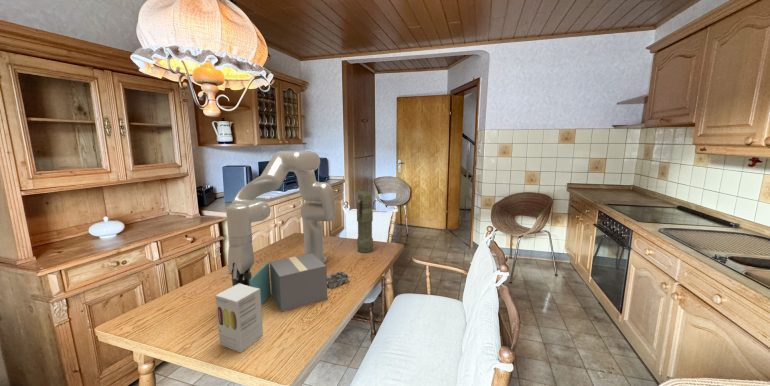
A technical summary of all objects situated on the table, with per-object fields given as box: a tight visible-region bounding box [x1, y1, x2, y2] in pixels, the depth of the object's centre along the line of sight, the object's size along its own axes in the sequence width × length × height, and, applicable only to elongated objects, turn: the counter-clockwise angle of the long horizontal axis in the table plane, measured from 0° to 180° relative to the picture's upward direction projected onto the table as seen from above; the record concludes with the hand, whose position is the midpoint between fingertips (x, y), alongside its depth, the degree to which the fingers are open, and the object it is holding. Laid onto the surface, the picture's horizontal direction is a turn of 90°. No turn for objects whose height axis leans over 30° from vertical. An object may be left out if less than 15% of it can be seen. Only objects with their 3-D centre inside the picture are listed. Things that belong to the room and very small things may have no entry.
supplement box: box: [214, 283, 264, 353], centre depth 99 cm, size 10×9×17 cm
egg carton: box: [327, 269, 350, 289], centre depth 140 cm, size 11×8×4 cm
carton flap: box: [230, 261, 272, 307], centre depth 121 cm, size 16×8×16 cm, turn 179°
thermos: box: [356, 188, 374, 254], centre depth 177 cm, size 9×12×35 cm
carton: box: [269, 253, 328, 313], centre depth 127 cm, size 16×18×14 cm
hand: (244, 288), depth 114 cm, fingers closed
